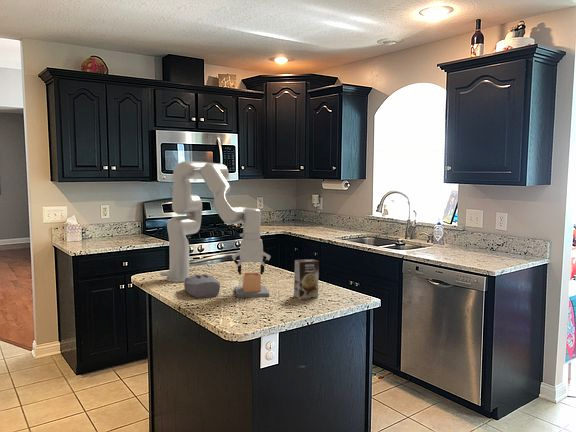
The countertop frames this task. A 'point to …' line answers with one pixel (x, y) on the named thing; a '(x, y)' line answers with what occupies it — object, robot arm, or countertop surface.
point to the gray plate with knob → (241, 293)
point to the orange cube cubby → (252, 282)
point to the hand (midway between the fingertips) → (250, 274)
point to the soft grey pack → (202, 286)
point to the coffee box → (306, 278)
